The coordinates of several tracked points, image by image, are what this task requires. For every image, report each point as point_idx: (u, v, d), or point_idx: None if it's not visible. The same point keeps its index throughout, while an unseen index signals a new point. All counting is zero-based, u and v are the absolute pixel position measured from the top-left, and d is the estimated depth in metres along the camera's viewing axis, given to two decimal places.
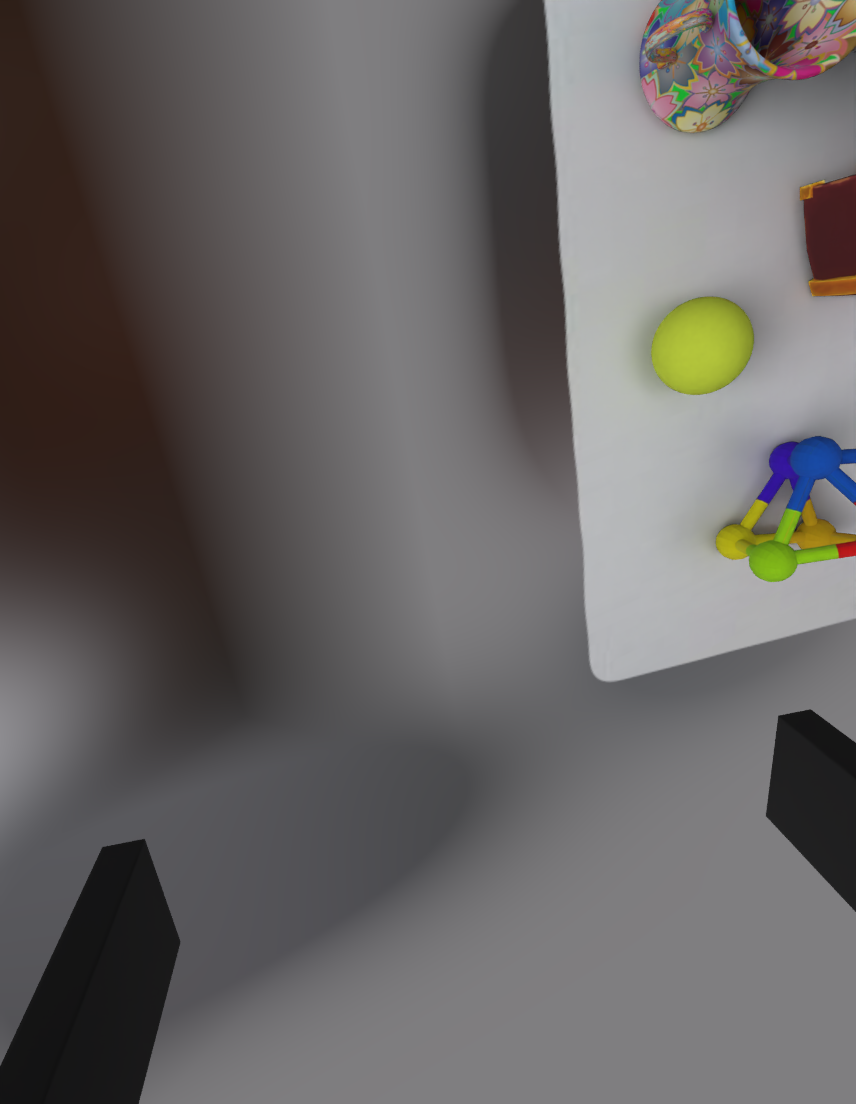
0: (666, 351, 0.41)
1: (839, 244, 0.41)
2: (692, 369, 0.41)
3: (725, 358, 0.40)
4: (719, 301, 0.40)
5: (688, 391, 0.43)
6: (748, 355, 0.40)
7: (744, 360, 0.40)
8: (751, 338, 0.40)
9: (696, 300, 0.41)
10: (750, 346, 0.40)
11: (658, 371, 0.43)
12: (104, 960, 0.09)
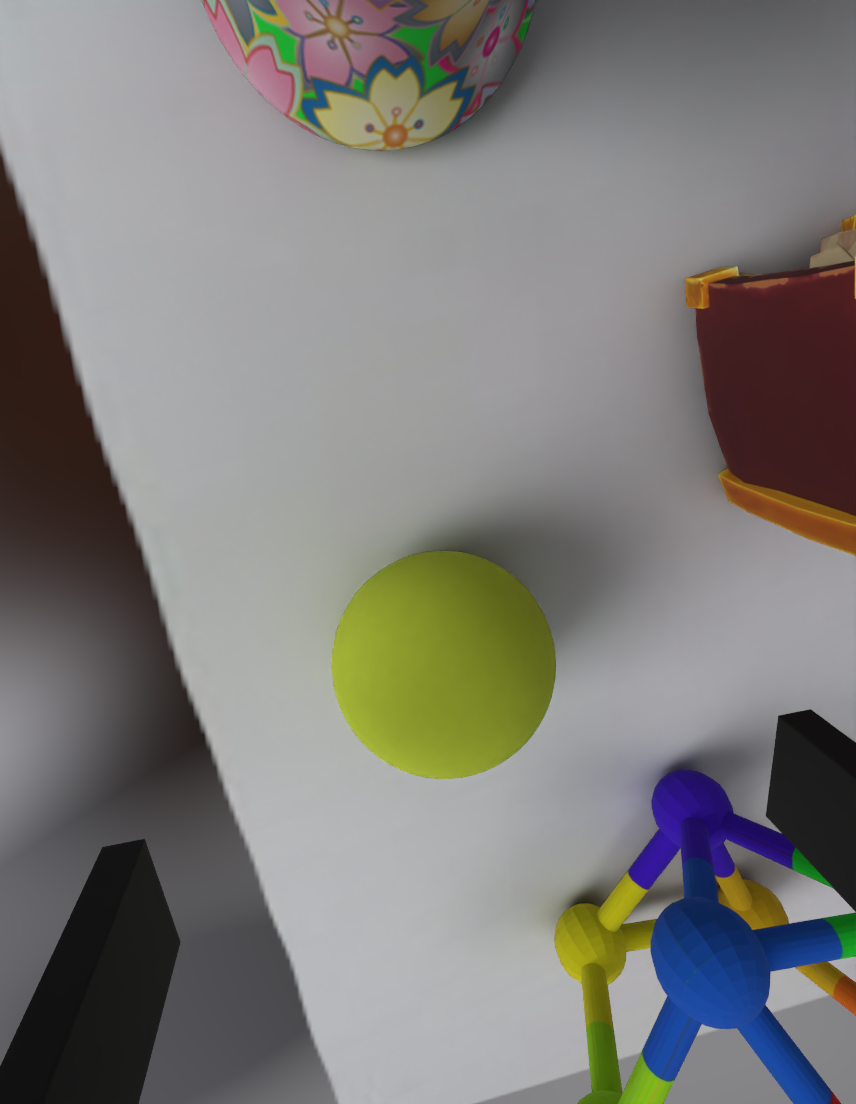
0: (338, 695, 0.17)
1: (771, 430, 0.16)
2: (388, 757, 0.16)
3: (458, 751, 0.15)
4: (450, 593, 0.15)
5: None
6: (531, 723, 0.16)
7: (520, 738, 0.16)
8: (534, 687, 0.15)
9: (403, 577, 0.16)
10: (532, 706, 0.16)
11: None
12: (104, 960, 0.09)
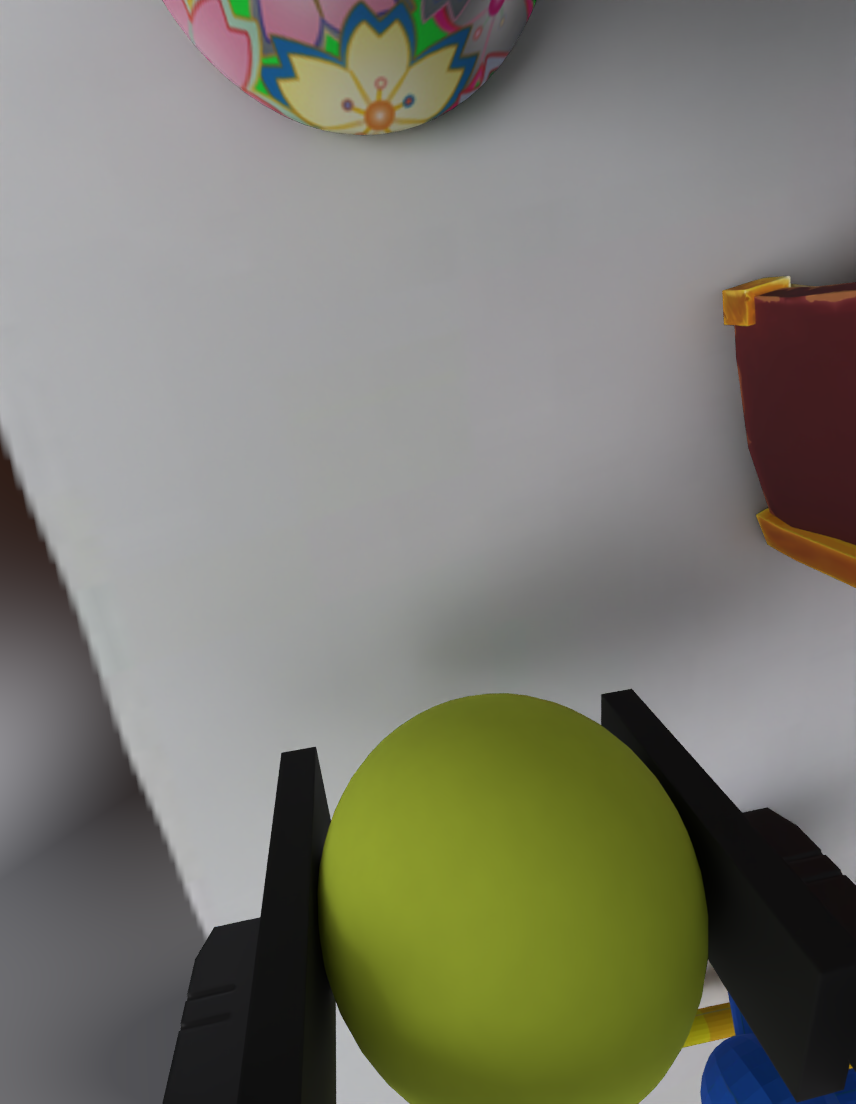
0: (328, 975, 0.09)
1: (835, 471, 0.14)
2: None
3: None
4: (538, 822, 0.08)
5: None
6: (682, 1044, 0.09)
7: None
8: (693, 991, 0.08)
9: (445, 776, 0.09)
10: (689, 1024, 0.08)
11: None
12: (314, 828, 0.11)
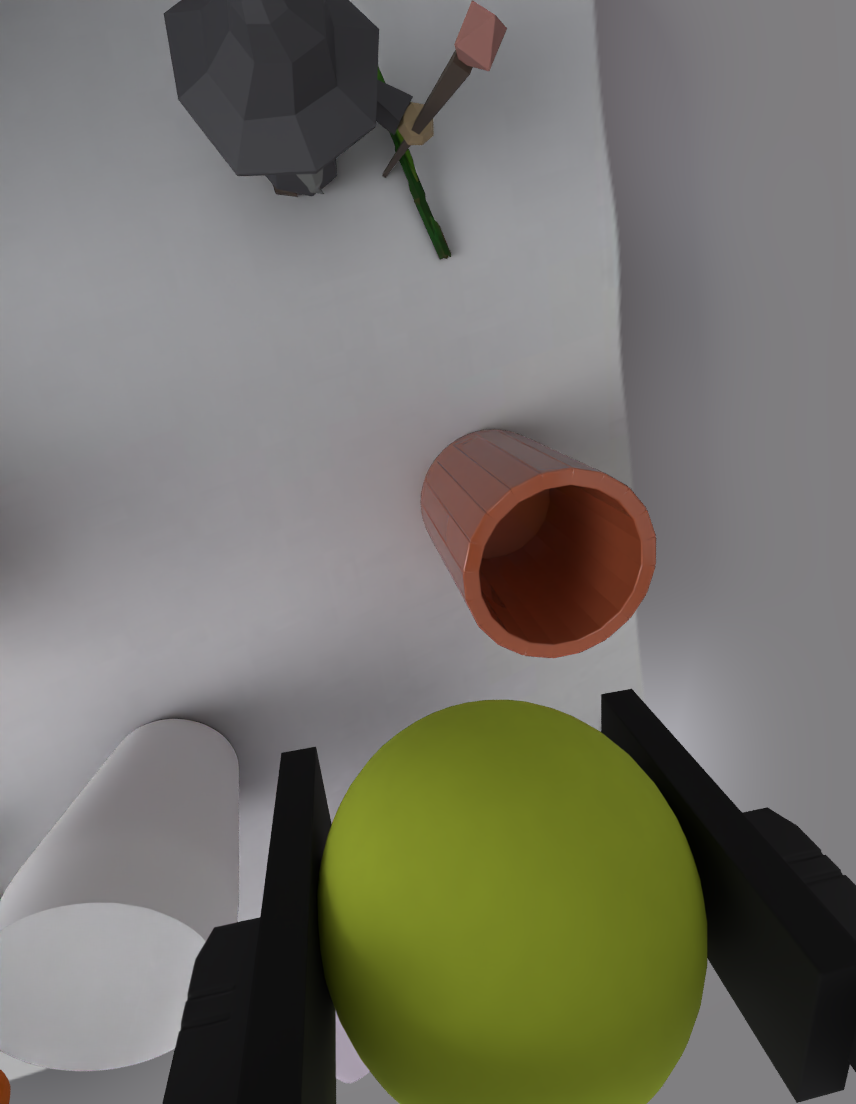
0: (327, 982, 0.09)
1: None
2: None
3: None
4: (536, 831, 0.08)
5: None
6: (681, 1052, 0.09)
7: None
8: (692, 1000, 0.08)
9: (444, 783, 0.09)
10: (688, 1032, 0.08)
11: None
12: (314, 828, 0.11)
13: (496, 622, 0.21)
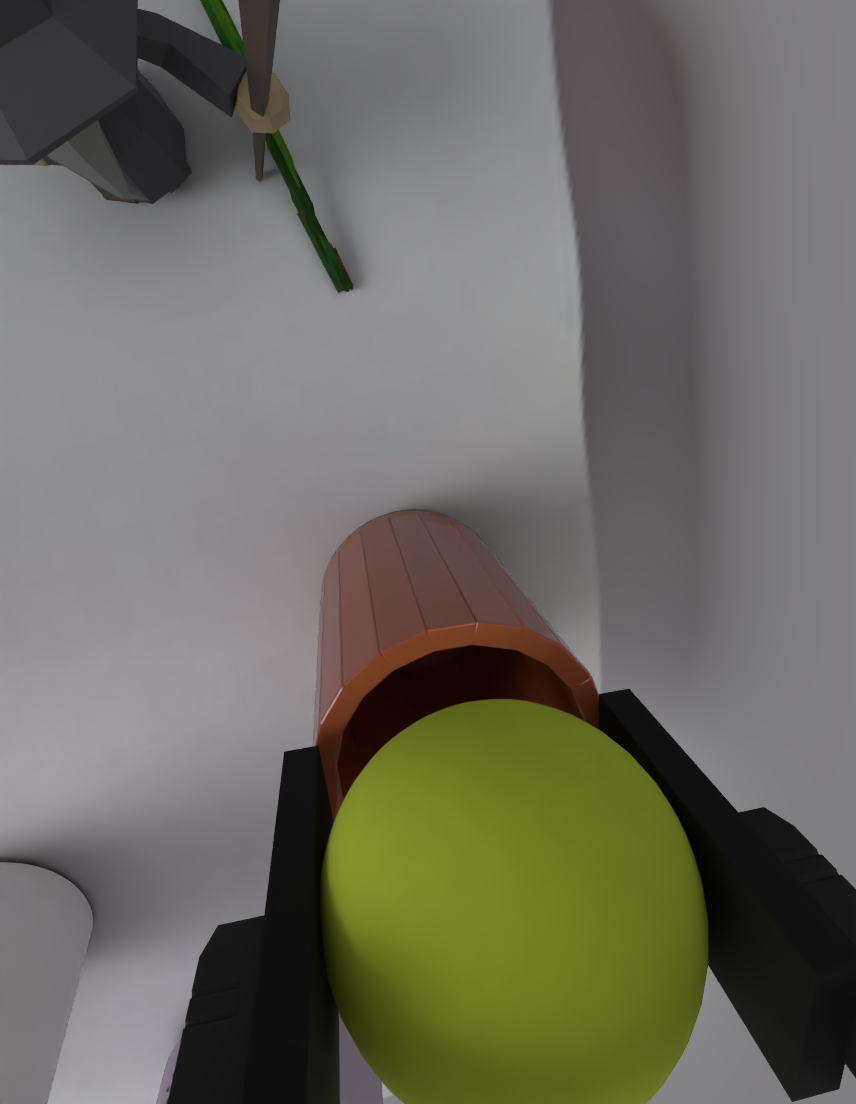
0: (329, 981, 0.09)
1: None
2: None
3: None
4: (537, 829, 0.08)
5: None
6: (682, 1051, 0.09)
7: None
8: (693, 998, 0.08)
9: (445, 782, 0.09)
10: (689, 1030, 0.08)
11: None
12: (317, 827, 0.11)
13: None
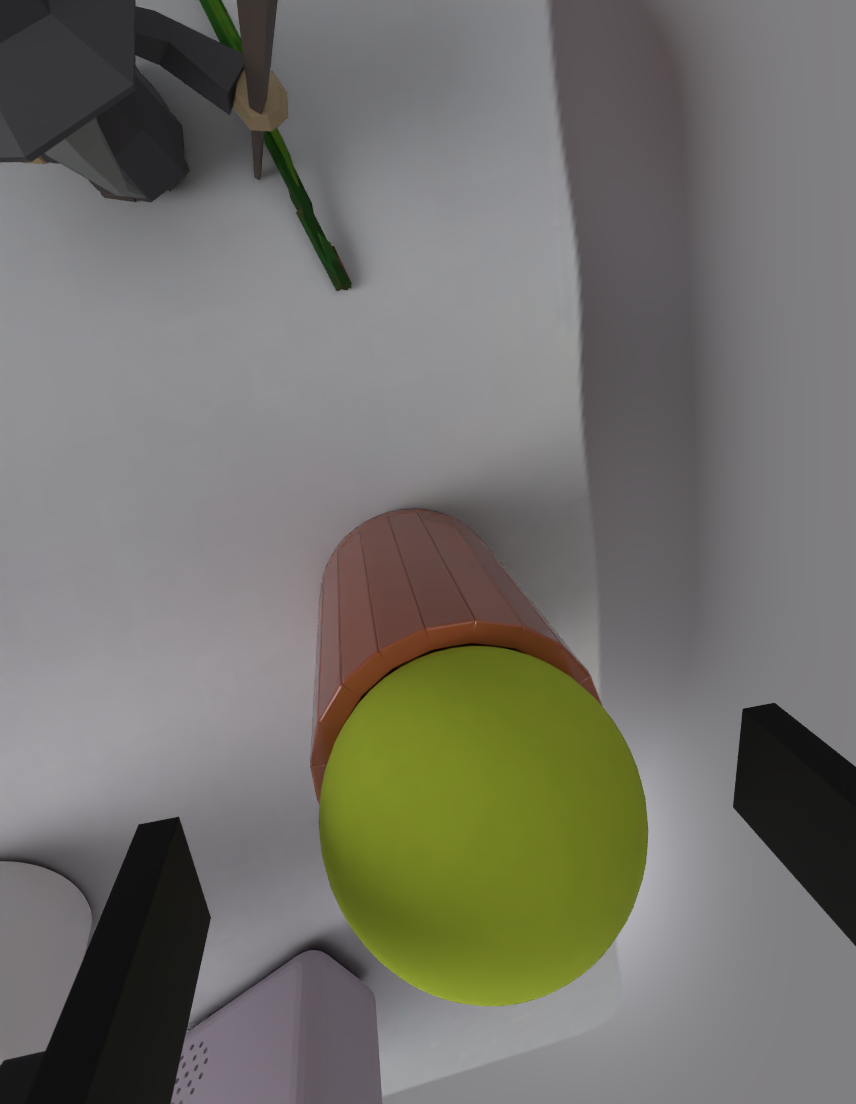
0: (328, 872, 0.11)
1: None
2: (407, 979, 0.10)
3: (520, 979, 0.09)
4: (499, 721, 0.10)
5: None
6: (625, 917, 0.10)
7: (609, 943, 0.10)
8: (630, 864, 0.10)
9: (425, 694, 0.11)
10: (628, 894, 0.10)
11: None
12: (148, 927, 0.09)
13: None
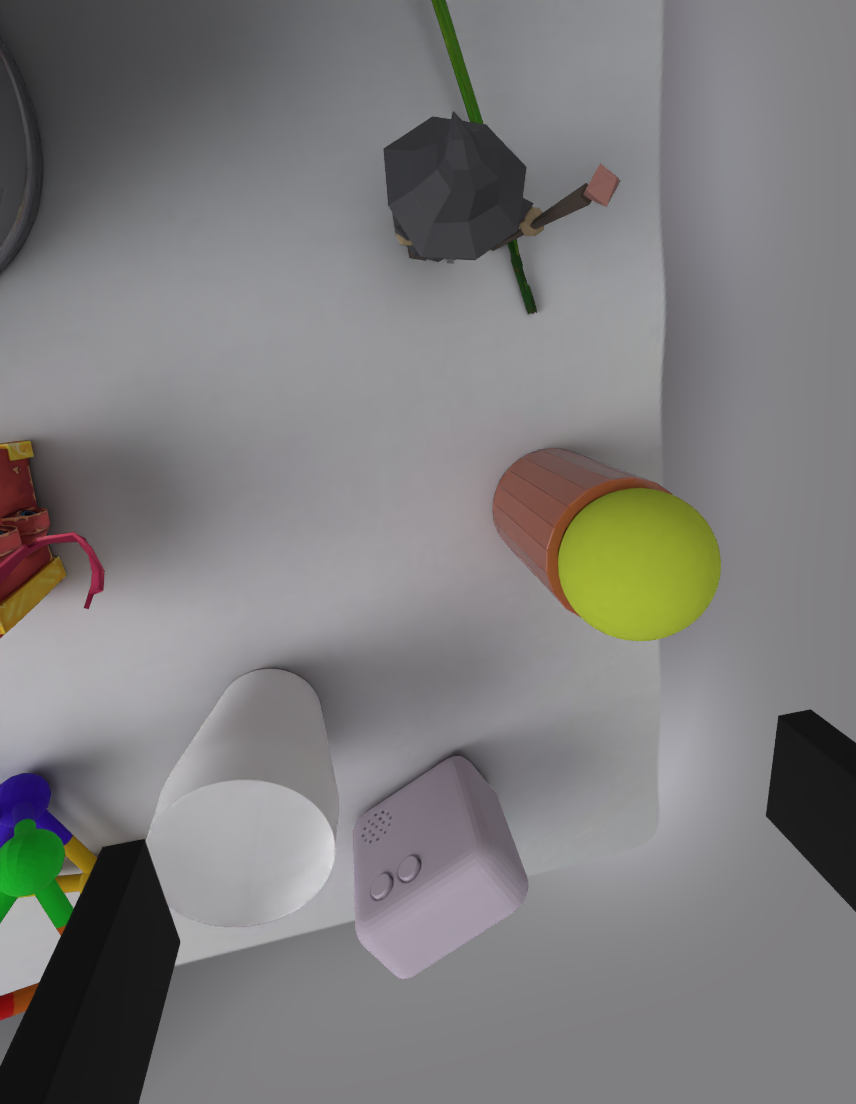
0: (576, 577, 0.24)
1: None
2: (618, 614, 0.24)
3: (672, 603, 0.23)
4: (661, 503, 0.24)
5: (616, 637, 0.26)
6: (712, 593, 0.24)
7: (705, 602, 0.24)
8: (716, 566, 0.24)
9: (623, 497, 0.24)
10: (715, 579, 0.24)
11: (568, 600, 0.26)
12: (104, 960, 0.09)
13: None
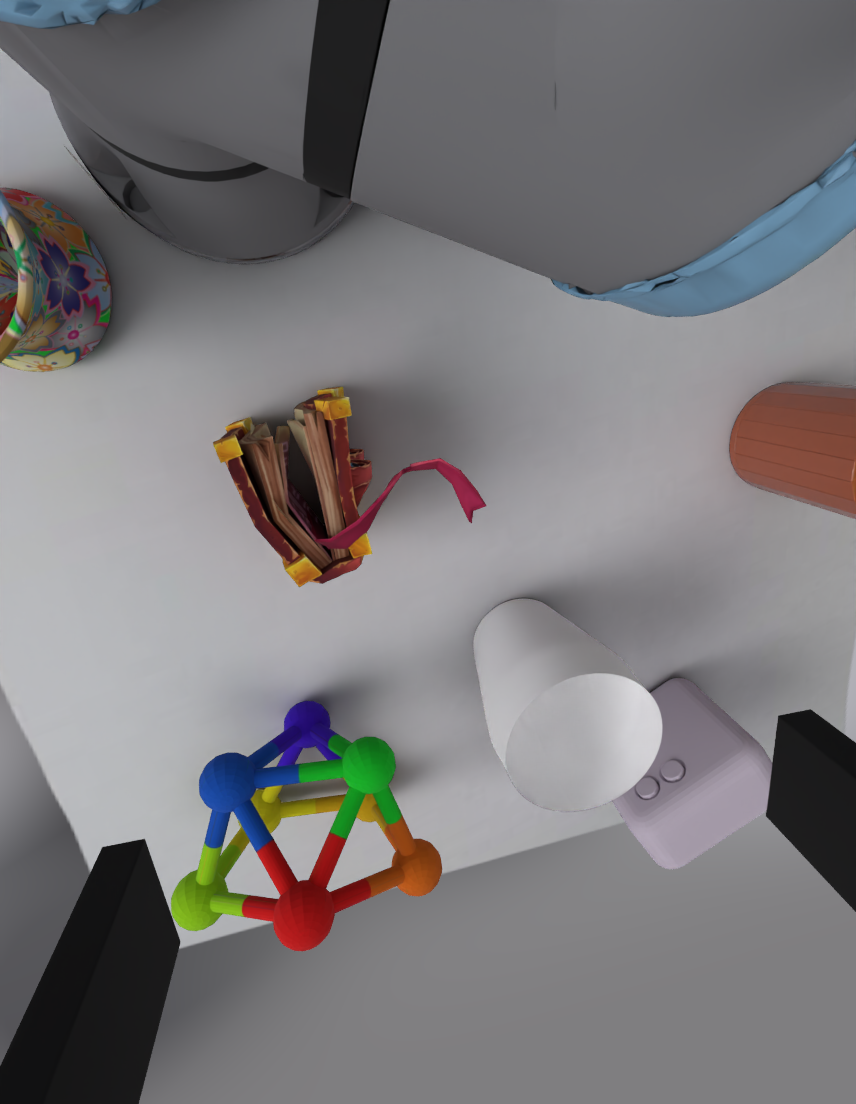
0: None
1: None
2: None
3: None
4: None
5: None
6: None
7: None
8: None
9: None
10: None
11: None
12: (104, 960, 0.09)
13: None
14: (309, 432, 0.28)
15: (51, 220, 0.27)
